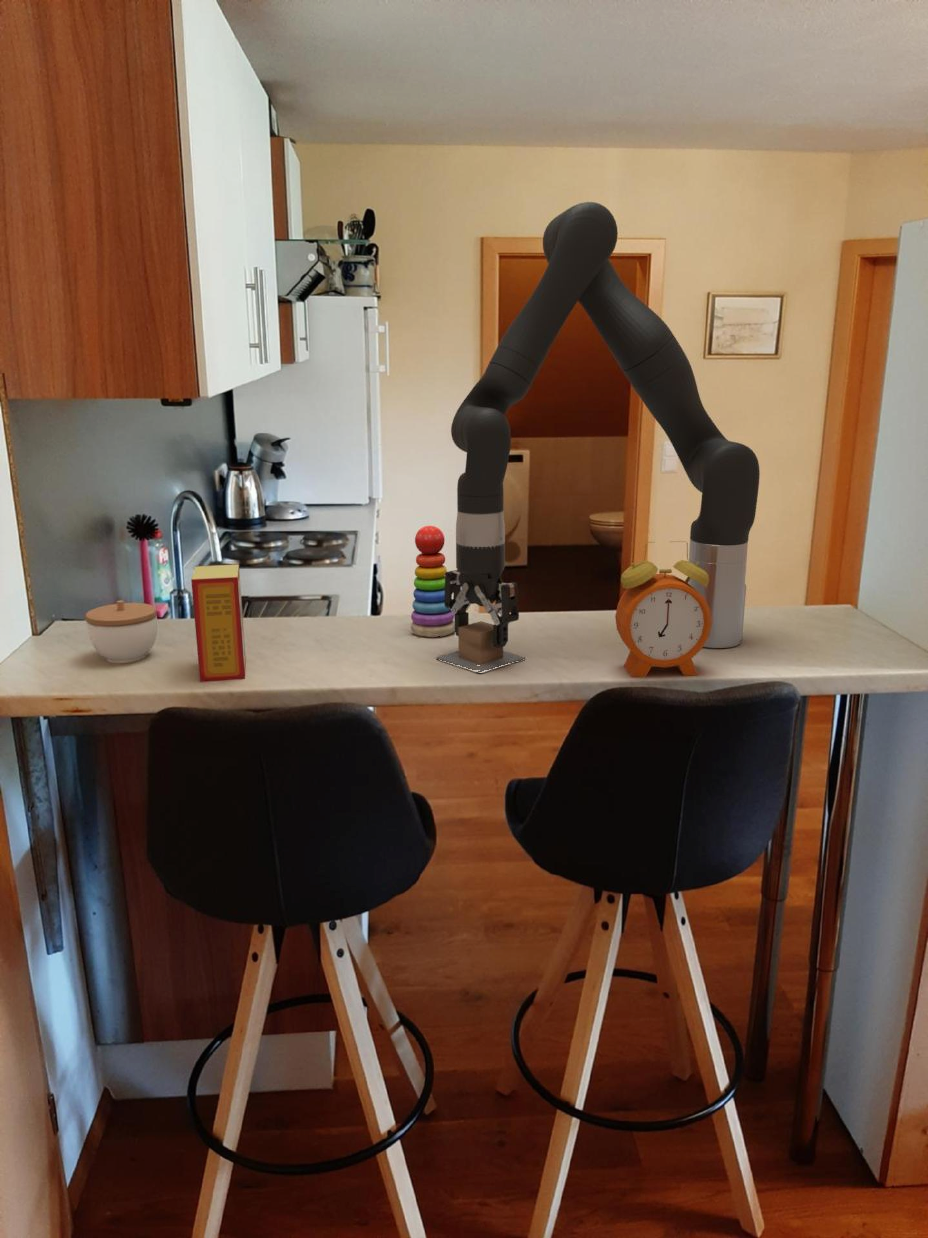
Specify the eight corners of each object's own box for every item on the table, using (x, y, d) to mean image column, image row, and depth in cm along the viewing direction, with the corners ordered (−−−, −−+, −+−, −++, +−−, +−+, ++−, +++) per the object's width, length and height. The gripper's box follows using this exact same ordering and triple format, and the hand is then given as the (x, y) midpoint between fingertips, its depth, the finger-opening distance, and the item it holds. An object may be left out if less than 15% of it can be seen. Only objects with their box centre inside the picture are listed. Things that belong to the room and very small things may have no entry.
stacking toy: (458, 626, 167) (457, 522, 162) (453, 639, 160) (452, 530, 154) (414, 625, 168) (412, 521, 163) (407, 638, 160) (404, 530, 155)
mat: (481, 646, 155) (481, 644, 155) (525, 659, 148) (525, 657, 148) (436, 659, 149) (436, 657, 149) (479, 674, 142) (479, 671, 142)
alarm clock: (622, 678, 140) (627, 546, 134) (613, 665, 145) (617, 538, 140) (709, 676, 140) (718, 545, 135) (696, 663, 146) (704, 537, 141)
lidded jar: (111, 672, 144) (104, 613, 141) (78, 658, 151) (71, 601, 148) (173, 656, 151) (168, 600, 149) (139, 643, 158) (134, 589, 156)
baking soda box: (203, 662, 148) (195, 563, 144) (245, 659, 149) (238, 561, 145) (200, 682, 139) (191, 577, 135) (245, 678, 140) (237, 575, 136)
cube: (481, 650, 152) (481, 621, 150) (503, 657, 148) (503, 627, 147) (458, 657, 148) (458, 627, 147) (480, 664, 145) (480, 633, 144)
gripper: (531, 543, 141) (529, 645, 145) (466, 531, 151) (466, 627, 155) (496, 550, 136) (495, 656, 140) (431, 537, 146) (432, 636, 150)
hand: (480, 641), depth 148 cm, fingers open, 8 cm apart
